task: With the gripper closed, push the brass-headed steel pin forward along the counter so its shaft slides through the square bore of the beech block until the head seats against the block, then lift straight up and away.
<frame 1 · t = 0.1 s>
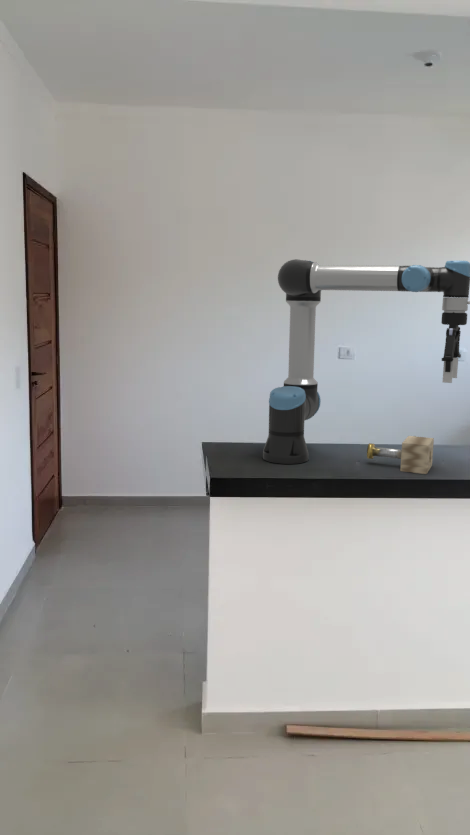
hand: (449, 380, 218), 28 cm above the countertop, fingers open, 13 cm apart
pin: (389, 453, 223), point 4 cm above the countertop, slide at 0.0 cm
bore block: (416, 468, 221), on the countertop
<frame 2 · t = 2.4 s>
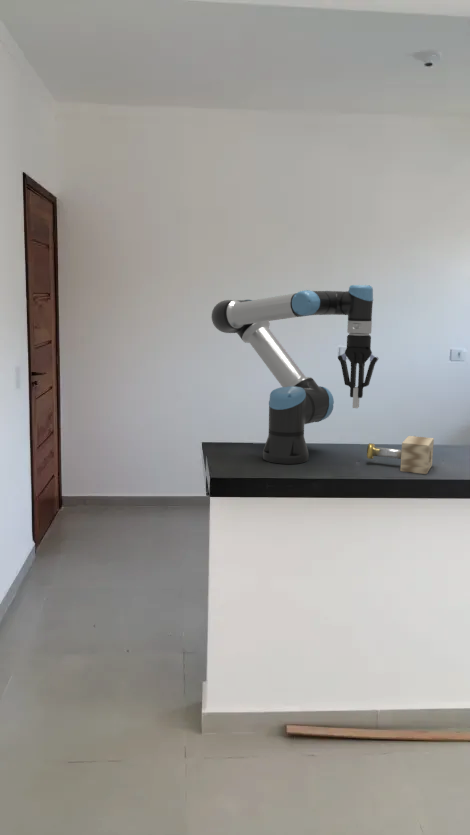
hand: (355, 407, 225), 18 cm above the countertop, fingers closed
nothing on the countertop moved.
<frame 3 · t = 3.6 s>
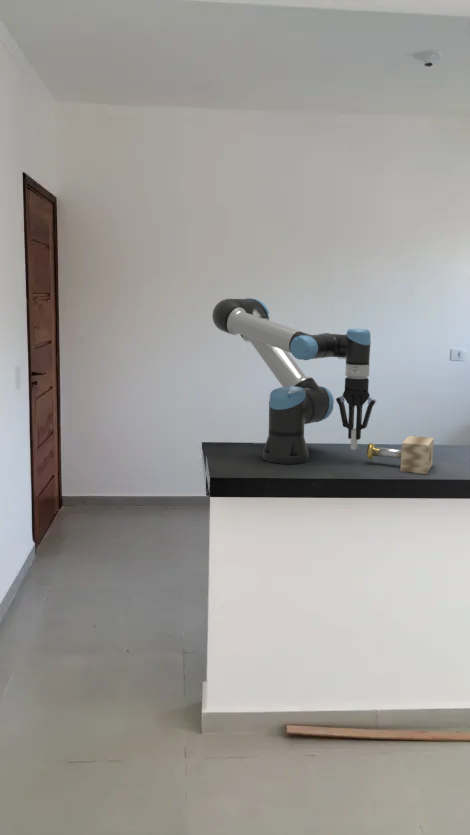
hand: (353, 448, 228), 4 cm above the countertop, fingers closed
nothing on the countertop moved.
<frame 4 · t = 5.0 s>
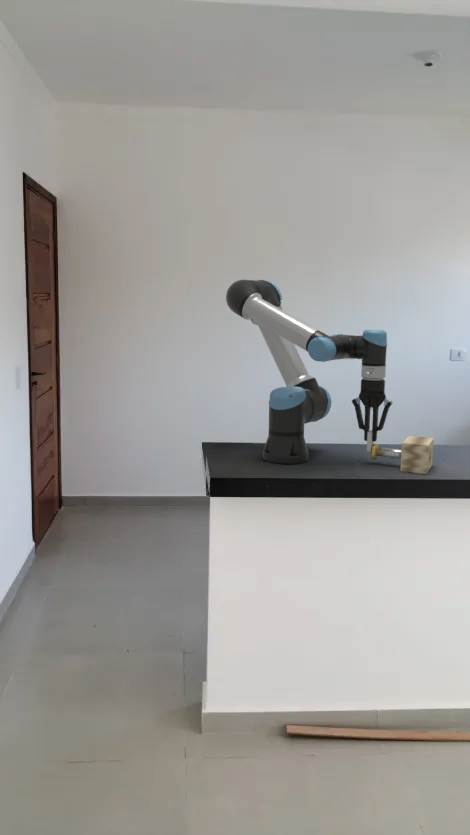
hand: (369, 450, 226), 4 cm above the countertop, fingers closed
pin: (393, 453, 223), point 4 cm above the countertop, slide at 1.2 cm, touching gripper
everything else where it was.
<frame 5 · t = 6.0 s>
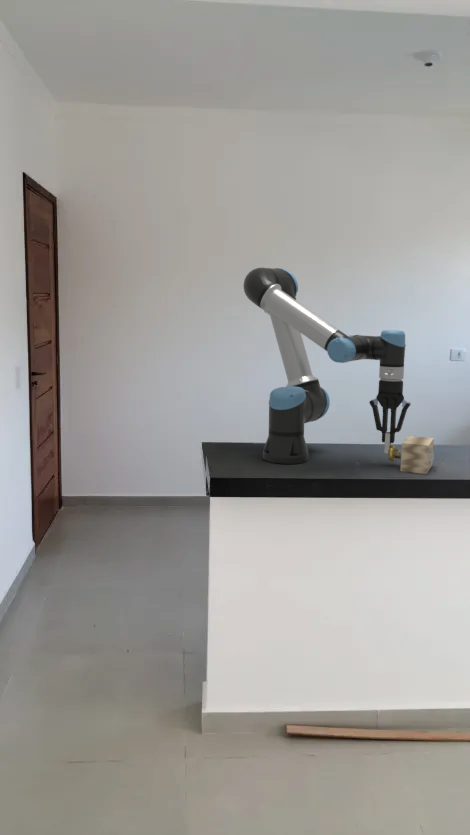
hand: (387, 452, 223), 4 cm above the countertop, fingers closed
pin: (411, 455, 221), point 4 cm above the countertop, slide at 6.9 cm, touching gripper
everything else where it was.
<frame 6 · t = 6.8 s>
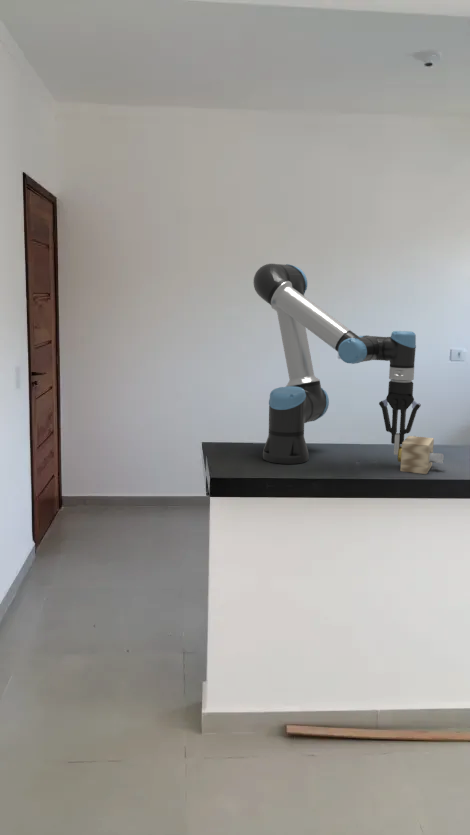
hand: (396, 453, 222), 4 cm above the countertop, fingers closed
pin: (420, 456, 220), point 4 cm above the countertop, slide at 9.8 cm
everything else where it was.
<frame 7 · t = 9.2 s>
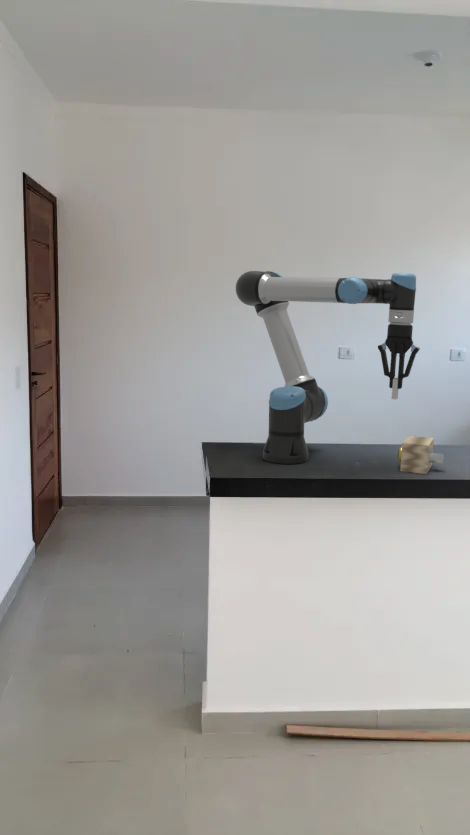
hand: (394, 398, 221), 22 cm above the countertop, fingers closed
nothing on the countertop moved.
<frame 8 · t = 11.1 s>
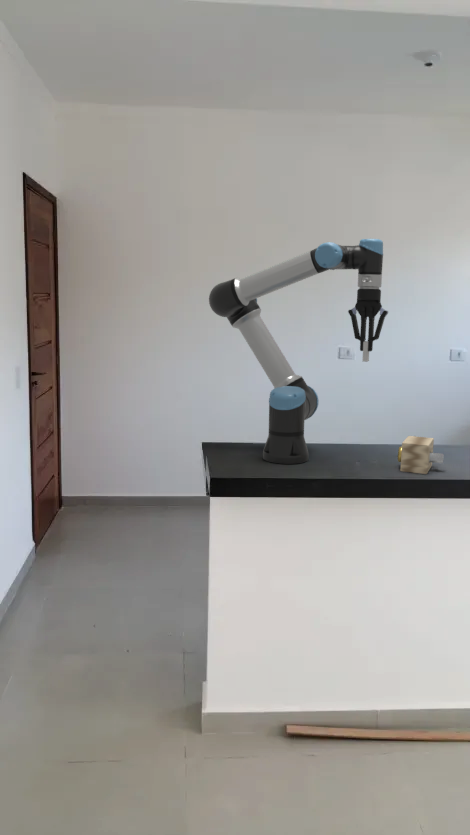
hand: (365, 361, 229), 32 cm above the countertop, fingers closed
nothing on the countertop moved.
at the end: pin slide at 9.8 cm; pin touching nothing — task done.
